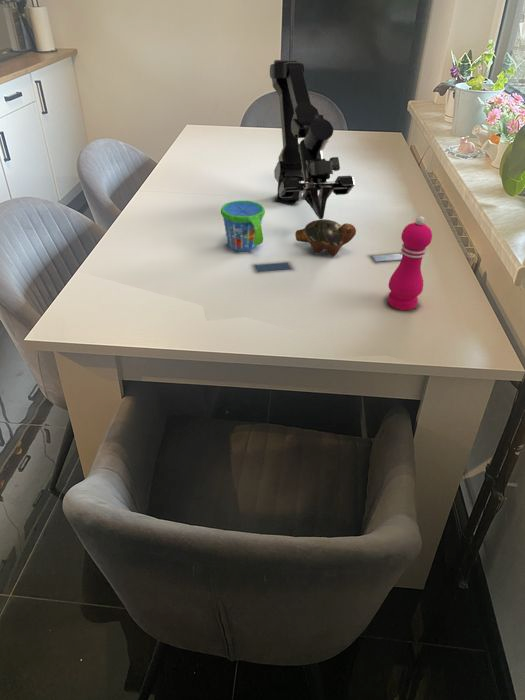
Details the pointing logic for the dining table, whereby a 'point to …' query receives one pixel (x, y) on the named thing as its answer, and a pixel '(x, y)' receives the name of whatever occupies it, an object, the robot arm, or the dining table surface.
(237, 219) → the snack cup
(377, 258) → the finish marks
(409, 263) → the pepper mill
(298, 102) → the robot arm
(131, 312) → the dining table surface
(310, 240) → the decorative turtle
